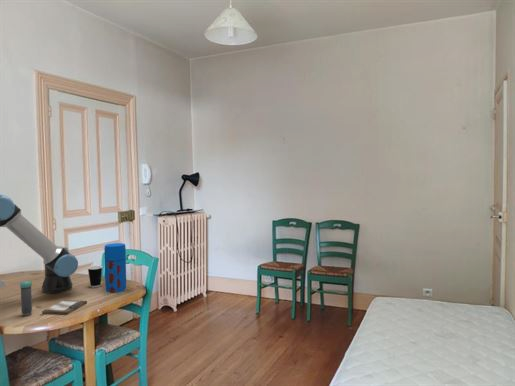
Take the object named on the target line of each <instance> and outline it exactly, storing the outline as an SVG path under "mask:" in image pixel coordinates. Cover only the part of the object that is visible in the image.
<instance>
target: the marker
mask: <svg viewBox="0 0 515 386" xmlns="http://www.w3.org/2000/svg"><path fill="white" fill-rule="evenodd" d="M19 284H20V285H19V286H20V299H21V300H20V301H21V302H20V303H21V304H20V305H21V308H20V309H21V314H22V317H29V316H32V312H33V306H32V305H33V304H32V301H33V300H32V286H33V285H32V280H24V281H20V282H19Z"/></svg>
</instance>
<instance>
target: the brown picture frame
mask: <svg viewBox="0 0 515 386" xmlns="http://www.w3.org/2000/svg"><path fill="white" fill-rule="evenodd" d="M87 303H88V301H87V300H78V299H77V300H75V299H73V300H71V299H64V300H62V301H60V302H58V303H55V304H54V305H51V306H49V307H48V308H46V309H44V310H42V312H41V313H42V314H43V315H56V316H57V315H58V316H59V315H61V316H64V315H65V316H67V315H69V314H71V313H73V312H74V311H76V310H78V309H79V308H81V307H84V306H85V305H86V304H87Z"/></svg>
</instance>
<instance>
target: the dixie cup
mask: <svg viewBox="0 0 515 386" xmlns="http://www.w3.org/2000/svg"><path fill="white" fill-rule="evenodd" d="M87 271H88V277H89V283H90V284H89V285H90V287H91V288H94V287H95V288H99V286H100V287H101V284H102V275H103V273H102V272H103V265H92V266H88V267H87ZM95 288H94V289H95Z"/></svg>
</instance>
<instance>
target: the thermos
mask: <svg viewBox="0 0 515 386" xmlns="http://www.w3.org/2000/svg"><path fill="white" fill-rule="evenodd" d="M126 248H127V247H126V244H125V243H122V242H114V243H107V244H105V245H104V249H103V250H104V282H105V283H104V285H105V292H106V293H109V292H110V293H111V294H113V293H115V292H116V293H122V292H124V291H125V289H127V258H126V256H127V255H126V254H127V253H126V250H127V249H126ZM110 293H109V294H110Z"/></svg>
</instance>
